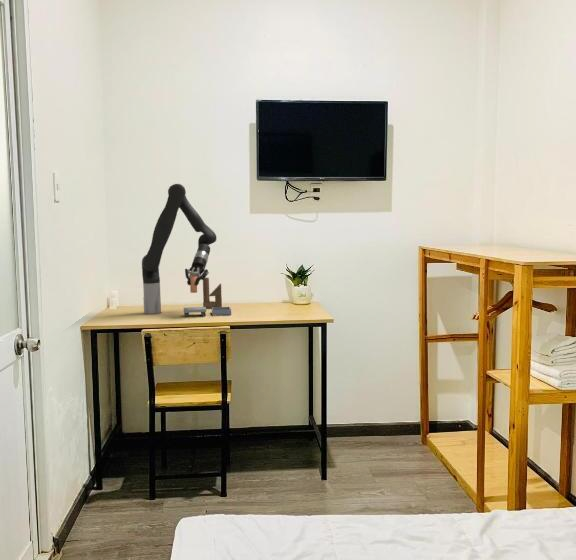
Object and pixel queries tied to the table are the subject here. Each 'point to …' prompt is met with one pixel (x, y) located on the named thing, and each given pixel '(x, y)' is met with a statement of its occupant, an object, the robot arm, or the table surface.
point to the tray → (221, 311)
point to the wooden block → (216, 293)
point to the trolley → (194, 310)
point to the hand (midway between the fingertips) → (192, 284)
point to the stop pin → (193, 282)
